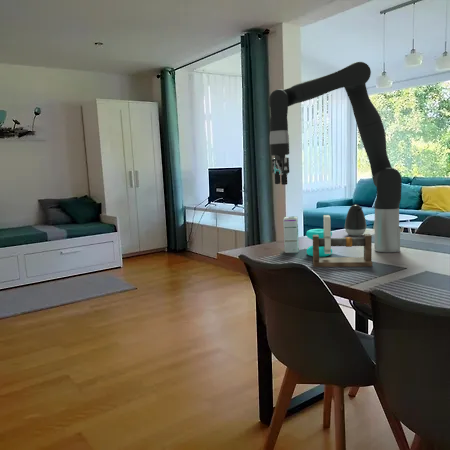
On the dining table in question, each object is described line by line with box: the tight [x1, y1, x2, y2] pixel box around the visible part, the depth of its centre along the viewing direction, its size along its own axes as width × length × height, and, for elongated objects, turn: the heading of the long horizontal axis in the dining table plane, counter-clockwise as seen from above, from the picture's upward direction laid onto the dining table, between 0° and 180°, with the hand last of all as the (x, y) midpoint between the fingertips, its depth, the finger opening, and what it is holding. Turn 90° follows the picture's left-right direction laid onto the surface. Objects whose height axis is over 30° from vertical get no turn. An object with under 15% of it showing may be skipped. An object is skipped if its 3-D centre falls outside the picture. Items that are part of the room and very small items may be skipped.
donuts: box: [305, 228, 333, 258], centre depth 172 cm, size 10×10×10 cm
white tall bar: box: [323, 214, 332, 255], centre depth 155 cm, size 2×7×13 cm, turn 171°
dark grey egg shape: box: [344, 204, 367, 237], centre depth 212 cm, size 10×10×15 cm
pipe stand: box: [312, 233, 374, 268], centre depth 155 cm, size 20×8×10 cm, turn 81°
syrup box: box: [282, 216, 300, 254], centre depth 180 cm, size 6×6×14 cm
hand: (280, 184), depth 172 cm, fingers open, 8 cm apart
